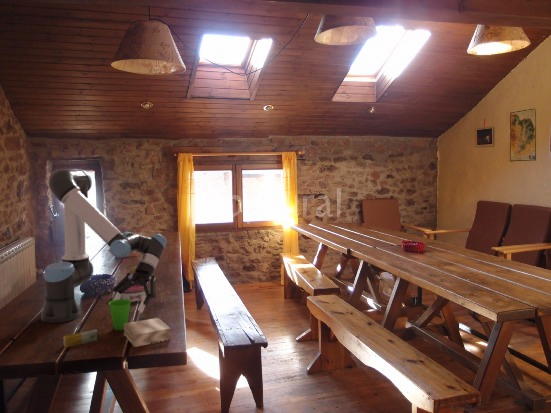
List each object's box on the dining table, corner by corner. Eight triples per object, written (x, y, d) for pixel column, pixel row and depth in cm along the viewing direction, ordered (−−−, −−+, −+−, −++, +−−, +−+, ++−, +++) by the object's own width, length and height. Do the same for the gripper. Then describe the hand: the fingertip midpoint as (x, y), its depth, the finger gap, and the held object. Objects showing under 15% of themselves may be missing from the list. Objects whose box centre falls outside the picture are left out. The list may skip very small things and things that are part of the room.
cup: (136, 327, 193) (136, 301, 192) (118, 334, 186) (118, 307, 185) (121, 323, 198) (121, 297, 197) (103, 329, 190) (103, 303, 189)
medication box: (96, 339, 181) (96, 328, 181) (98, 341, 179) (98, 330, 178) (63, 346, 174) (63, 335, 173) (65, 348, 172) (64, 337, 171)
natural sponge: (133, 286, 255) (133, 268, 254) (124, 283, 261) (124, 266, 260) (147, 283, 261) (147, 266, 260) (139, 280, 267) (139, 263, 266)
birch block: (134, 348, 173) (134, 335, 173) (124, 335, 185) (123, 323, 185) (170, 340, 181) (170, 328, 181) (158, 329, 193) (158, 317, 192)
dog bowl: (117, 292, 244) (117, 279, 243) (153, 292, 245) (153, 280, 244) (106, 303, 225) (106, 289, 225) (145, 303, 226) (145, 289, 226)
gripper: (174, 273, 204) (155, 317, 191) (127, 268, 212) (105, 310, 199) (167, 263, 198) (147, 308, 186) (119, 258, 206) (96, 301, 194)
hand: (125, 309), depth 192 cm, fingers open, 13 cm apart
